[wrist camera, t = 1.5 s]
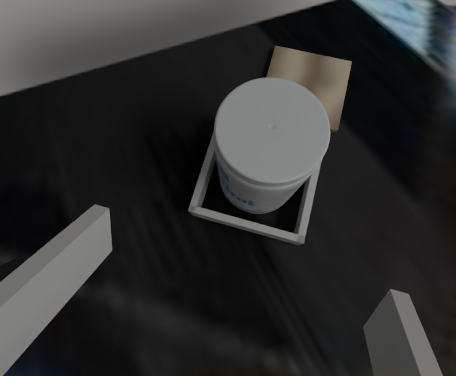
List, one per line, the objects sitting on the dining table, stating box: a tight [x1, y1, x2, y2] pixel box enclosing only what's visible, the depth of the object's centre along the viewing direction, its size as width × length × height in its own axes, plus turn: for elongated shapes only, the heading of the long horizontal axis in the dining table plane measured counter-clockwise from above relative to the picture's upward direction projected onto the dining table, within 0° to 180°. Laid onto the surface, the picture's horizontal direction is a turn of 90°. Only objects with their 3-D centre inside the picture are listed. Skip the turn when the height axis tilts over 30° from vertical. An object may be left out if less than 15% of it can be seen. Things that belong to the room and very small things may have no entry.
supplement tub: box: [213, 77, 330, 214], centre depth 29 cm, size 10×10×15 cm
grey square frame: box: [188, 132, 321, 245], centre depth 34 cm, size 14×14×3 cm
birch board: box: [266, 46, 352, 133], centre depth 39 cm, size 11×11×1 cm
